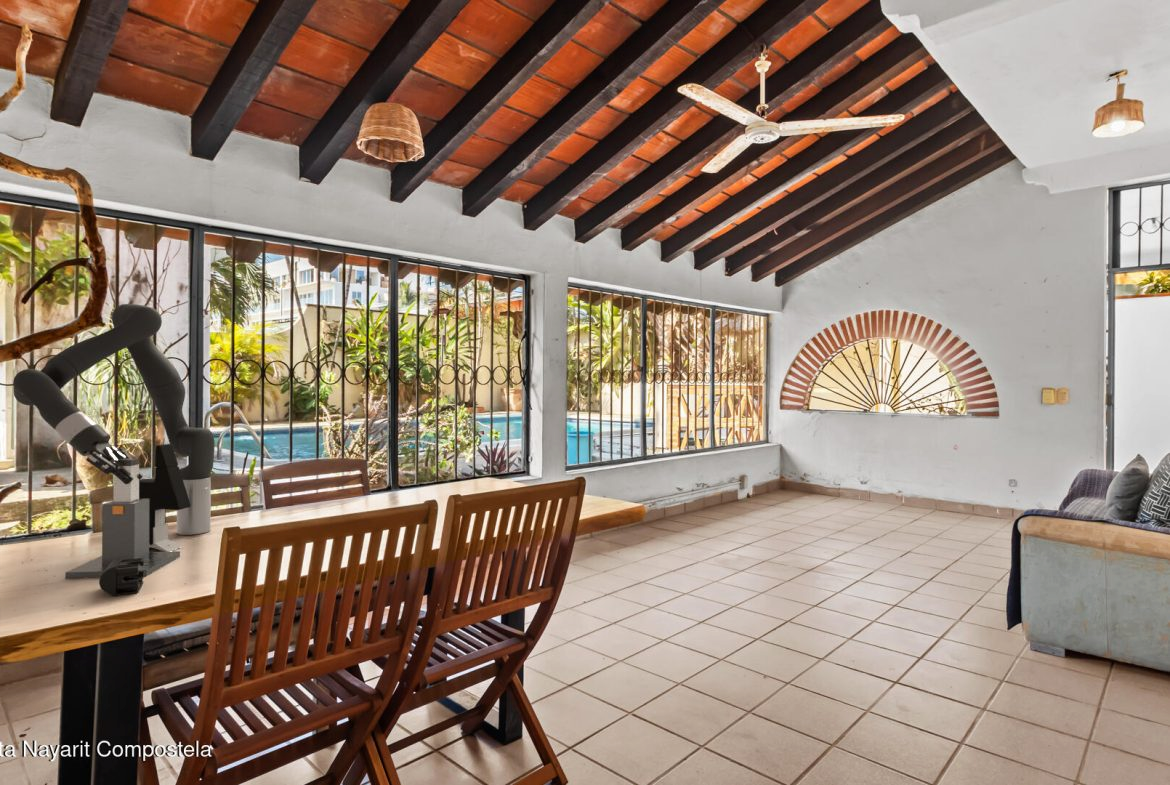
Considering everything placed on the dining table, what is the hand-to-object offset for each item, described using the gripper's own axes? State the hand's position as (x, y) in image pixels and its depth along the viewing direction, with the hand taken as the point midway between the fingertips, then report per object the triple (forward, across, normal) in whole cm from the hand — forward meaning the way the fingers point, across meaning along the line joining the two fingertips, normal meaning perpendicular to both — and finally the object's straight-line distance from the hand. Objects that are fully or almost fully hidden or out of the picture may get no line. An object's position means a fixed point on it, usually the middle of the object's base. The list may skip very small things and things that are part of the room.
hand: (134, 480), depth 168 cm
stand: (+14, 0, +17) cm, 22 cm away
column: (+12, 0, +15) cm, 20 cm away
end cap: (+21, -20, +11) cm, 31 cm away
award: (+15, +18, +17) cm, 29 cm away
